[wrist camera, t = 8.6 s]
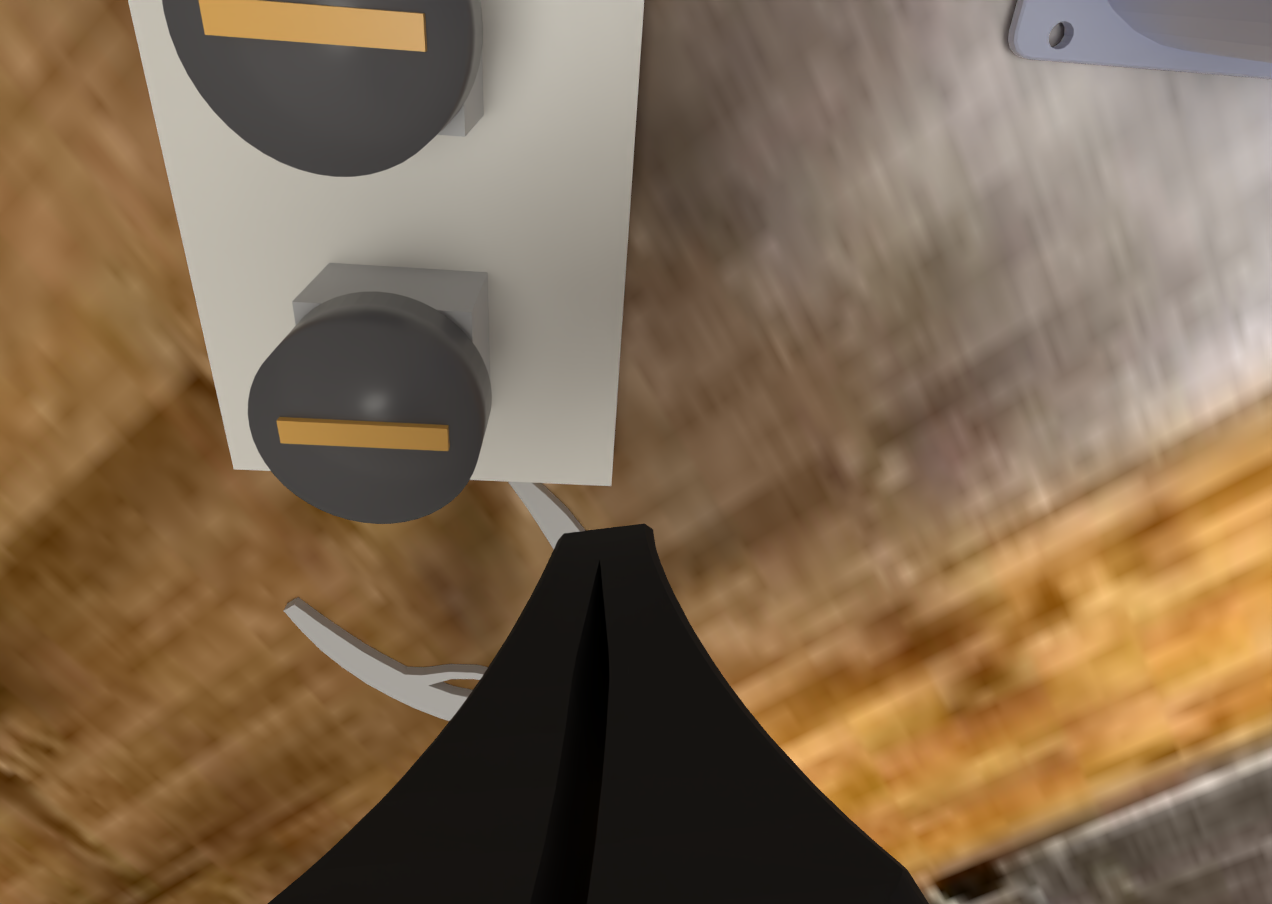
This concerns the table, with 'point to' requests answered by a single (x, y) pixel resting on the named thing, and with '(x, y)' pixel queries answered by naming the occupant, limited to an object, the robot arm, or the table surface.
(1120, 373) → the table surface
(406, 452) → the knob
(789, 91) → the table surface
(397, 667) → the pliers
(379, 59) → the knob middle
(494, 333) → the knob mount
